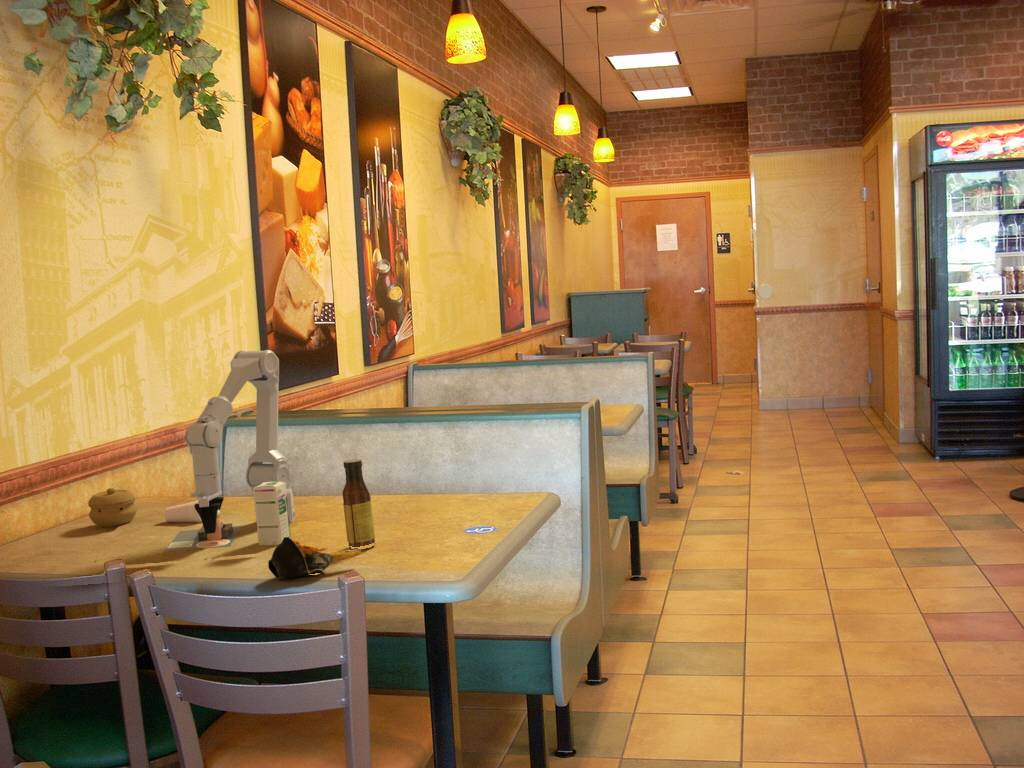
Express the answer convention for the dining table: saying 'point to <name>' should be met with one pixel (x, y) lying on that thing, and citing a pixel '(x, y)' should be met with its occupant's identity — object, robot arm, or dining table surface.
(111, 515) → the pot
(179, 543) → the picture board
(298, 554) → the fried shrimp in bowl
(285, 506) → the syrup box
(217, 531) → the terracotta marker
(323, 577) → the dining table surface
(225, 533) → the button collar
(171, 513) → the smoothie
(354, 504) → the sauce bottle
